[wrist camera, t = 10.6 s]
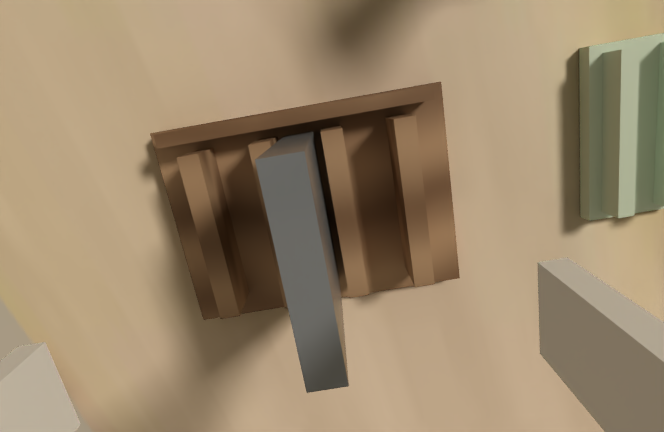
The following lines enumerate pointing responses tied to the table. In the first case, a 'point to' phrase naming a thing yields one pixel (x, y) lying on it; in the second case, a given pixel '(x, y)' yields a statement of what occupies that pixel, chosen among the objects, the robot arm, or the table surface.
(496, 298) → the table surface
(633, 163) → the stand
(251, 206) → the rack
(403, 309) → the table surface
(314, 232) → the thick grey slab
